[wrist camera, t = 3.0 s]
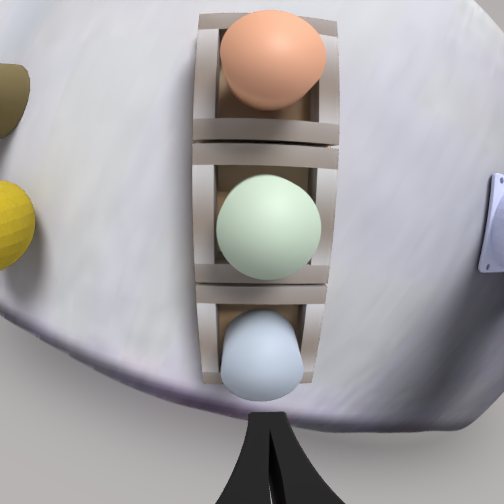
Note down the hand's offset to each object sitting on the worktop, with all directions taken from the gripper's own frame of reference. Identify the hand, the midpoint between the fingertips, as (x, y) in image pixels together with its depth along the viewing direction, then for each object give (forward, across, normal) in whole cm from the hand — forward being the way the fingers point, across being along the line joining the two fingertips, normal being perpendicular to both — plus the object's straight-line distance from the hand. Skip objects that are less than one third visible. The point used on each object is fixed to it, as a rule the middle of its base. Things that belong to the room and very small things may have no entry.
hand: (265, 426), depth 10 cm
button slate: (+6, 0, 0) cm, 6 cm away
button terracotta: (+6, 0, -14) cm, 15 cm away
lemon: (+9, +16, -7) cm, 20 cm away
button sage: (+6, 0, -7) cm, 9 cm away
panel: (+9, 0, -7) cm, 11 cm away
